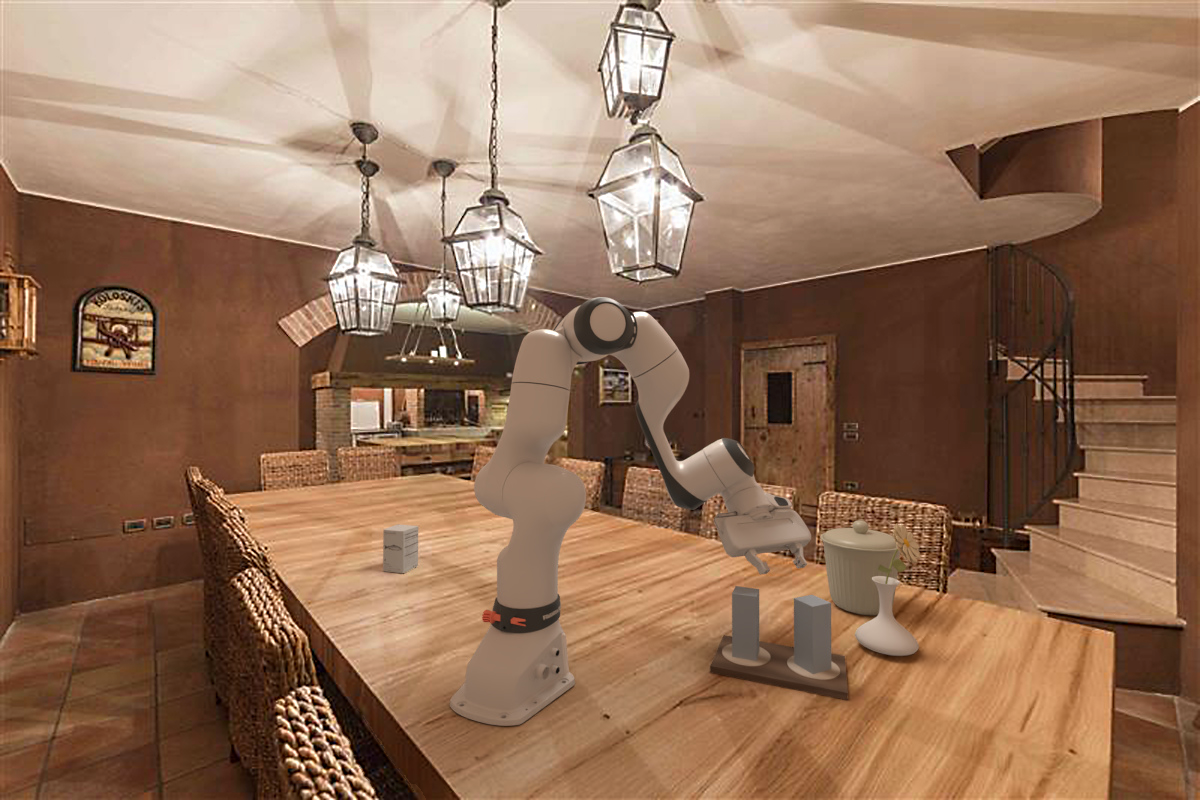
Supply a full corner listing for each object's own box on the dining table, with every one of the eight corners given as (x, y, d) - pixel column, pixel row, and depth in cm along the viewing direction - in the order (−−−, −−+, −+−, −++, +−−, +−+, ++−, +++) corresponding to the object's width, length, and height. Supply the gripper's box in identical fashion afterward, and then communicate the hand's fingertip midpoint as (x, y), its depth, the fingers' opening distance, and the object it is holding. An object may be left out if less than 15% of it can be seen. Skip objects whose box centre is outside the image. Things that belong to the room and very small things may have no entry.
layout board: (847, 700, 88) (847, 691, 88) (710, 672, 97) (710, 664, 97) (844, 662, 100) (844, 654, 100) (723, 640, 110) (723, 634, 110)
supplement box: (382, 572, 155) (382, 529, 155) (398, 564, 162) (398, 523, 162) (403, 574, 153) (403, 530, 153) (419, 566, 160) (419, 525, 160)
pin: (756, 661, 98) (756, 596, 98) (732, 656, 100) (731, 593, 100) (759, 650, 102) (759, 589, 102) (735, 646, 104) (735, 585, 104)
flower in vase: (885, 665, 99) (884, 533, 99) (842, 639, 110) (841, 520, 110) (939, 656, 103) (939, 528, 103) (893, 632, 114) (892, 516, 114)
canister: (921, 623, 118) (920, 529, 118) (841, 623, 118) (840, 529, 118) (878, 593, 136) (877, 512, 136) (808, 594, 136) (808, 512, 136)
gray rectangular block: (831, 669, 95) (831, 602, 95) (812, 674, 93) (812, 606, 93) (812, 658, 99) (811, 594, 99) (794, 662, 97) (793, 598, 97)
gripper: (717, 505, 105) (749, 568, 96) (794, 498, 114) (831, 555, 105) (704, 523, 109) (734, 584, 100) (780, 515, 118) (814, 571, 109)
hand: (784, 569), depth 103 cm, fingers open, 8 cm apart
